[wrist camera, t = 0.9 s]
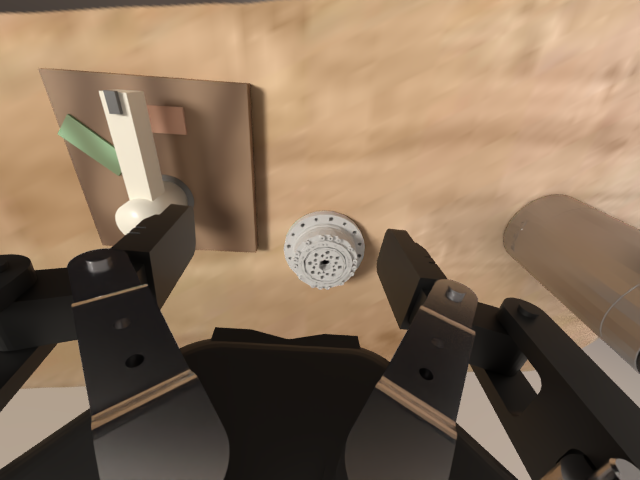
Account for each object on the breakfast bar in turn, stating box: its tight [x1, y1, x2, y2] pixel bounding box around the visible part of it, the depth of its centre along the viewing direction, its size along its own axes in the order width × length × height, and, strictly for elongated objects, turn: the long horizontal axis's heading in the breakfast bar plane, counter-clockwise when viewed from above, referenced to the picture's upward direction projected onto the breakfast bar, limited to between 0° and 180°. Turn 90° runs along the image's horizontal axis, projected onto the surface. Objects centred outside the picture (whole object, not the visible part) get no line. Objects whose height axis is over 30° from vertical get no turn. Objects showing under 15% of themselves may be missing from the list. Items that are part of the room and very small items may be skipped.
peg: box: [99, 89, 188, 235], centre depth 26 cm, size 4×13×6 cm, turn 176°
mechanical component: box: [284, 211, 365, 290], centre depth 34 cm, size 10×4×10 cm
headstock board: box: [38, 68, 258, 253], centre depth 30 cm, size 18×18×2 cm
